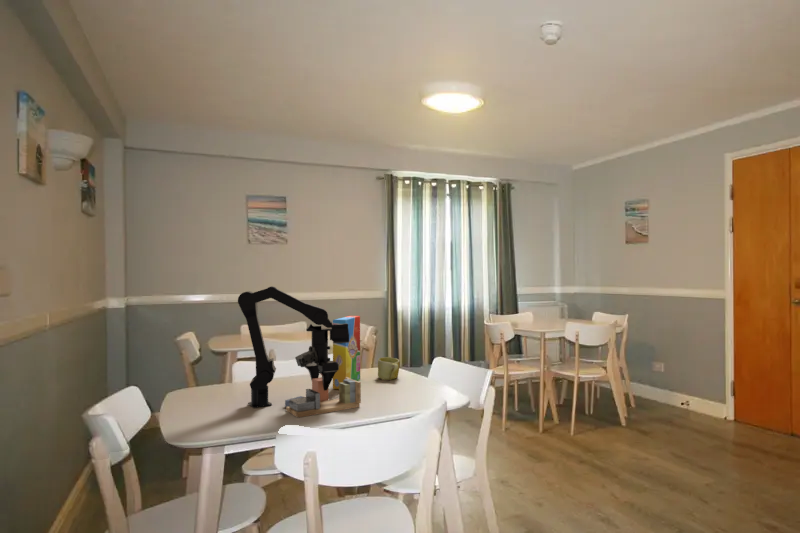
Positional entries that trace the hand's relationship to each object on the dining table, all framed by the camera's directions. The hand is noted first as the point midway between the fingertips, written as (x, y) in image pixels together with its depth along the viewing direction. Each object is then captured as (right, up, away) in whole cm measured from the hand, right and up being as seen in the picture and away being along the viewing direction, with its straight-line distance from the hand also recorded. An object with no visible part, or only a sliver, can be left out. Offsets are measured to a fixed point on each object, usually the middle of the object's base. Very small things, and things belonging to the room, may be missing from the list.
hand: (319, 387), depth 178 cm
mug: (+24, -6, +38) cm, 46 cm away
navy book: (-7, -5, -5) cm, 10 cm away
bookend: (-3, -3, -13) cm, 14 cm away
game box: (+7, -6, +28) cm, 29 cm away
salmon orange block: (0, -5, 0) cm, 5 cm away
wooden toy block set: (+3, -5, -9) cm, 11 cm away
